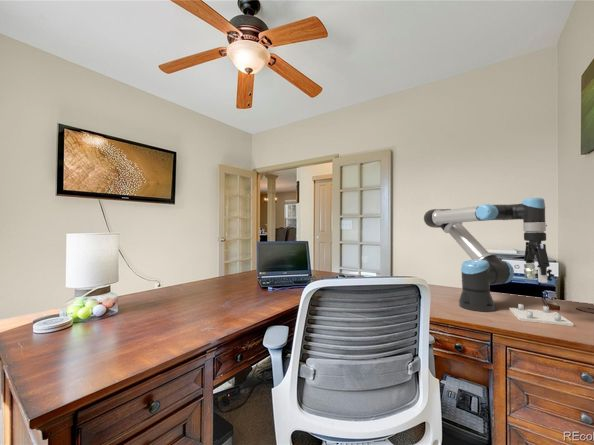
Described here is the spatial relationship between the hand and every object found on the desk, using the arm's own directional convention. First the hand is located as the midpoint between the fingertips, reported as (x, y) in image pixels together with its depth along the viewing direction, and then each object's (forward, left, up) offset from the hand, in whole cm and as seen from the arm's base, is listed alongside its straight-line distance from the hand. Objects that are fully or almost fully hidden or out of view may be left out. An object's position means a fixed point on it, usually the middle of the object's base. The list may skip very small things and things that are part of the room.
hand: (536, 279), depth 118 cm
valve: (0, 0, -1) cm, 1 cm away
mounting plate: (-1, -2, -16) cm, 16 cm away
